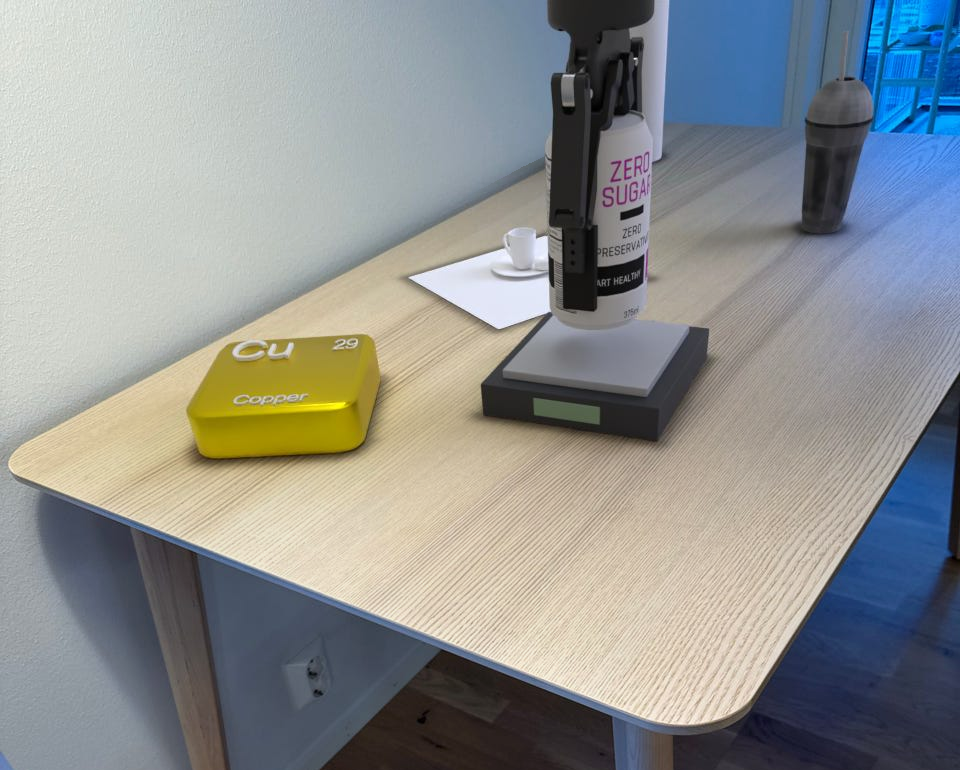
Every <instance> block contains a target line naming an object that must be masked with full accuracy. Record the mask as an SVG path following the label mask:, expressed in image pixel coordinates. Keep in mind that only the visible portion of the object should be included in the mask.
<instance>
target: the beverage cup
mask: <svg viewBox="0 0 960 770" xmlns="http://www.w3.org/2000/svg"><path fill="white" fill-rule="evenodd" d="M848 41H849V30H843V32H842V42H841V52H840V53H841V54H840V61H839V62H840V63H839V73H838V74H839V75H838V77H834V78H833V79H831V80H829V81H828V82H826V83H825V84H823V85H822V86H821V87H820V88H819V89H818V90H817V92H816V93H815V94H814V96H813V98H811V100H810V103H809V106H808V109H807V112H806V116H805V117H804V123H805V126H804V133H805V134H804V137H805V138H804V139H805V154H804V171H803V185H802V187H803V188H802V199H801V200H802V203H801V226H800V227H801V229H802V230H803V231H804V232H807V233H810V234H811V233H812V234H831V233H836V232H838V231H839V230H841V228H842V224H843V221H844V217H845V214H846V212H847V208H848V204H849V200H850V196H851V193H852V189H853V185H854V181H855V178H856V174H857V170H858V166H859V162H860V159H861V155H862V151H863V147H864V144H865V141H866V140H867V137H868V134H869V132H870V129H871V124H872V123H873V121H874V102H873V97H872V93H871V91H870V89H869V88H868V86H867V85H866V83H864V82H863V81H862V80H860V79H859V78H857V77H854V76H845V72H846V64H847V63H846V60H847V51H848Z"/></svg>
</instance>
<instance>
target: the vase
mask: <svg viewBox="0 0 960 770" xmlns="http://www.w3.org/2000/svg"><path fill="white" fill-rule="evenodd" d="M669 13H670V0H655V4H654V14H653V16H652V18H651V19H650V20H649V21H648V22H647V23H645V24H643V25H640V26H637V27H633V28H629V32H630V37H643V40H644V49H643V61H642V114H643V115H644V116H645V117H646V119H645V122H646V124H647V126H648V129H649V131H650V133H651V135H652V138H653V151H652V163H654V162H657V161H659V160H660V159H662V156H663V155H662V154H663V139H664V138H663V137H664V136H663V135H664V116H665V95H666V77H667V75H666V73H667V72H666V71H667V58H668V57H667V56H668V55H667V54H668V36H669V35H668V33H669Z"/></svg>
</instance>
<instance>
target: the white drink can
mask: <svg viewBox="0 0 960 770" xmlns="http://www.w3.org/2000/svg"><path fill="white" fill-rule="evenodd" d="M645 119H646V117H645V116H644V115H643V114H642V113H640V112H637V111H634V110H630V111H629V113H628V114H626V115H613V122H612V126H611V127H610V128H609V129H608V130H606V131H601V137H600V143H599V150H598V156H597V195H596V202H595V210H594V218H593V225H598V277H597V309H596V310H595V311H594V312H590V311H581V310H571V309H563V278H562V228H553V227H550V226H549V209H550V181H551V153H552V129H551V130H550V132H549V135H548V138H547V140H546V142H545V145H544V157H545V159H544V160H545V161H544V162H545V190H546V191H545V194H546V195H545V196H546V225H547V226H546V229H547V236H548V268H549V303H550V310H551V313H552V314H553V315H554V316H556V317H557V318H558V320H559V321H560V322H561V323H563V324H564V325H566V326H569V327H572V328H575V329H581V330H607V329H612V328H618V327H621V326H623V325H626V324H628V323H630V322H632V321H633V320H634V319H637V317H638V315H640V314H641V313H642V312H644V310H645V307H646V304H647V289H648V288H647V286H648V284H647V283H648V279H647V278H648V265H649V263H648V262H649V244H650V243H649V241H650V239H649V238H650V220H651V219H650V218H651V217H650V216H651V198H652V197H651V194H652V174H653V173H652V171H653V162H652V151H653V138H652V135H651V133H650V131H649V129H648V126H647V124H646V122H645ZM572 211H573V210H572Z"/></svg>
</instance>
